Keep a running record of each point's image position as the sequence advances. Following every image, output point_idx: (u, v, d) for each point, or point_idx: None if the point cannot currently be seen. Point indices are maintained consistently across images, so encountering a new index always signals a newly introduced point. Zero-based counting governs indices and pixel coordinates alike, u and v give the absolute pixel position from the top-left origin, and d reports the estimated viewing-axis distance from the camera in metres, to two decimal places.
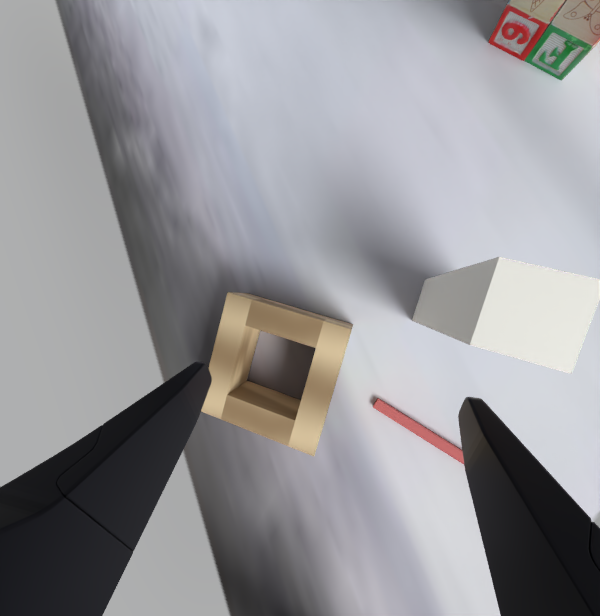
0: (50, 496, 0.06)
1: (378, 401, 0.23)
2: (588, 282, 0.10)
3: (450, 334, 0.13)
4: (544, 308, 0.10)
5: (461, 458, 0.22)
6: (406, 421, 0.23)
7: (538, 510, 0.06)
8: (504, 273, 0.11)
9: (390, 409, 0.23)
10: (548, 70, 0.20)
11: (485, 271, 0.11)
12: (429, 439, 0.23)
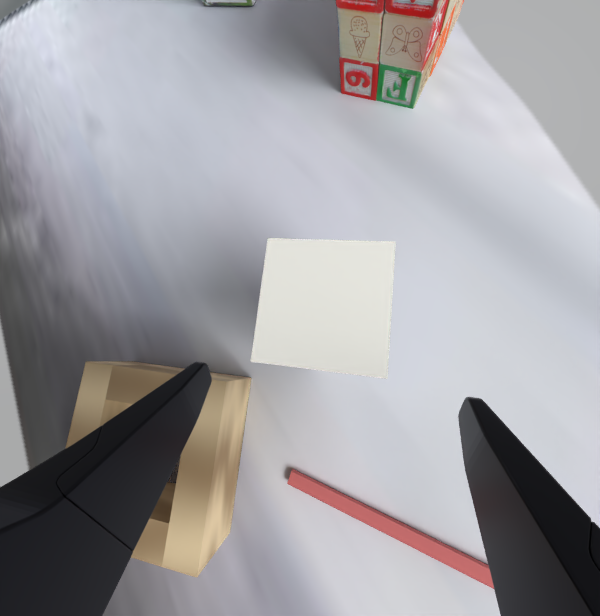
0: (50, 496, 0.06)
1: (292, 473, 0.18)
2: (375, 248, 0.07)
3: None
4: (332, 291, 0.07)
5: (409, 539, 0.16)
6: (330, 495, 0.17)
7: (538, 510, 0.06)
8: (277, 257, 0.08)
9: (307, 483, 0.18)
10: (398, 103, 0.22)
11: None
12: (363, 518, 0.17)
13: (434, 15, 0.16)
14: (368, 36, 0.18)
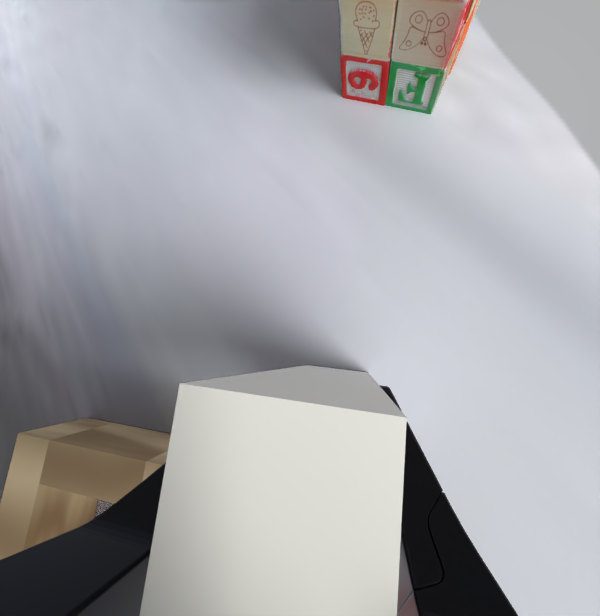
0: None
1: None
2: (367, 427, 0.04)
3: None
4: (287, 508, 0.04)
5: None
6: None
7: None
8: (193, 422, 0.04)
9: None
10: (412, 107, 0.18)
11: None
12: None
13: None
14: (378, 27, 0.14)
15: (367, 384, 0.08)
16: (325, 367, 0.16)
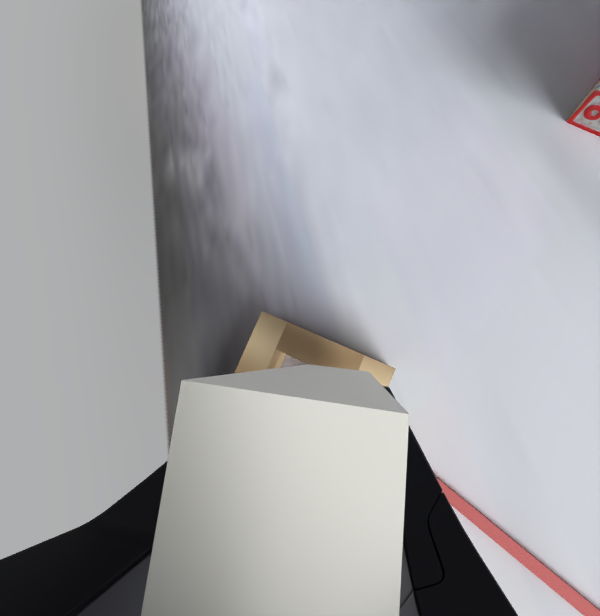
0: None
1: None
2: (370, 423, 0.04)
3: None
4: (289, 505, 0.04)
5: (508, 546, 0.18)
6: (443, 488, 0.20)
7: None
8: (195, 419, 0.04)
9: None
10: None
11: None
12: (469, 516, 0.19)
13: None
14: None
15: (368, 382, 0.08)
16: (326, 366, 0.16)
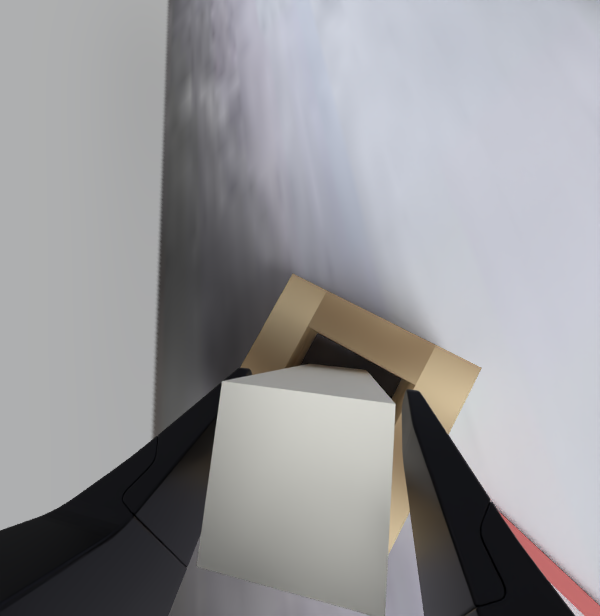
0: (120, 514, 0.06)
1: None
2: (367, 411, 0.05)
3: None
4: (307, 472, 0.05)
5: None
6: (523, 541, 0.14)
7: (443, 491, 0.06)
8: (234, 410, 0.06)
9: None
10: None
11: None
12: (559, 586, 0.14)
13: None
14: None
15: (365, 380, 0.10)
16: (326, 365, 0.18)
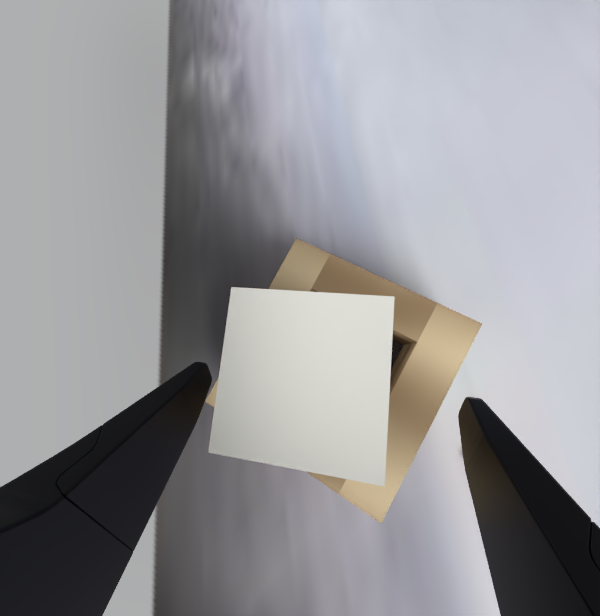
0: (50, 496, 0.06)
1: None
2: (368, 305, 0.06)
3: None
4: (312, 361, 0.06)
5: None
6: None
7: (538, 510, 0.06)
8: (242, 312, 0.06)
9: None
10: None
11: None
12: None
13: None
14: None
15: None
16: None
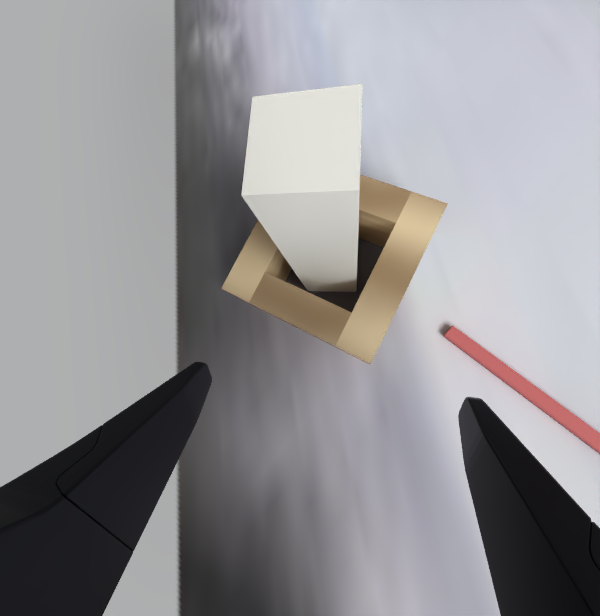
0: (50, 496, 0.06)
1: (453, 328, 0.18)
2: (345, 91, 0.09)
3: None
4: (309, 130, 0.09)
5: (565, 419, 0.16)
6: (490, 358, 0.17)
7: (538, 510, 0.06)
8: (261, 110, 0.09)
9: (467, 340, 0.18)
10: None
11: None
12: (519, 387, 0.17)
13: None
14: None
15: None
16: None
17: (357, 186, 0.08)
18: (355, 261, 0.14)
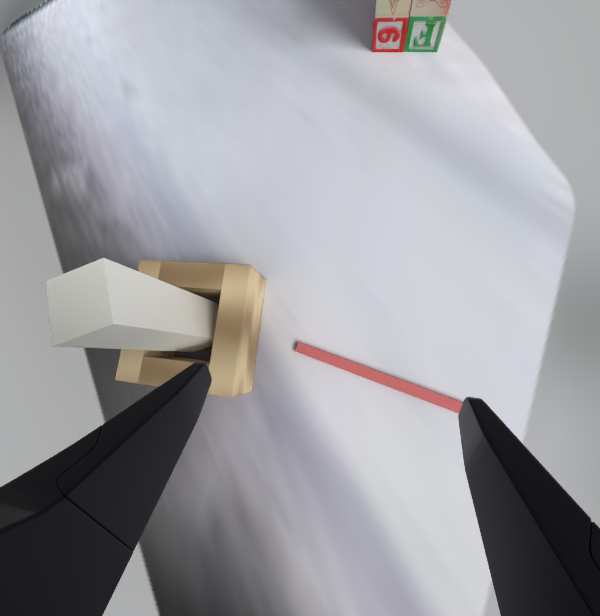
0: (50, 496, 0.06)
1: (299, 343, 0.24)
2: (95, 264, 0.14)
3: None
4: (81, 294, 0.14)
5: (387, 381, 0.22)
6: (328, 356, 0.23)
7: (538, 510, 0.06)
8: (52, 288, 0.14)
9: (311, 349, 0.23)
10: (424, 49, 0.26)
11: None
12: (353, 370, 0.22)
13: None
14: None
15: None
16: None
17: (112, 321, 0.13)
18: (185, 334, 0.19)
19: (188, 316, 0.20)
